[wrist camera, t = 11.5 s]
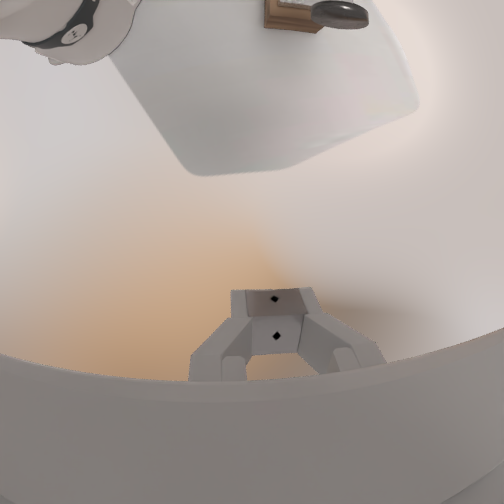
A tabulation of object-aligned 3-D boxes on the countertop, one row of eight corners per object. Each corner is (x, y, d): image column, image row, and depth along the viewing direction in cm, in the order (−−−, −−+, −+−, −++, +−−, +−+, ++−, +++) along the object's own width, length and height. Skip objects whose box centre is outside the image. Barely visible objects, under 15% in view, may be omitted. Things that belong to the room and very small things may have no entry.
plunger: (327, 60, 32) (402, 28, 15) (273, 53, 32) (314, 4, 14) (326, -1, 27) (389, -56, 10) (274, -8, 27) (309, -80, 9)
